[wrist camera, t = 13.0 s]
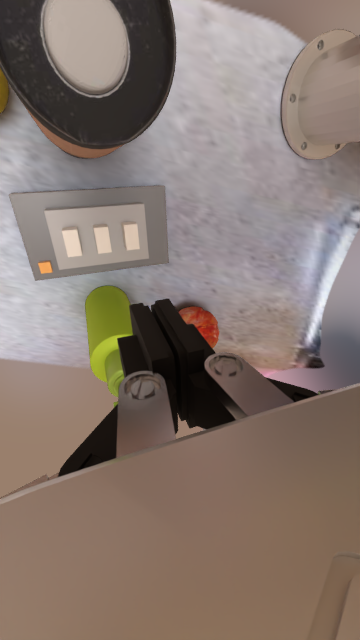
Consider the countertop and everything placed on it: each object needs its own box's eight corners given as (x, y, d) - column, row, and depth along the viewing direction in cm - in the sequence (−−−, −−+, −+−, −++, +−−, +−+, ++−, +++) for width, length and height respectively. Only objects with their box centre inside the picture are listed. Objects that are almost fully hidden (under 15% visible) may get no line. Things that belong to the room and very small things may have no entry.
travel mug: (65, 43, 25) (51, -219, 8) (132, 117, 29) (213, 44, 12) (20, 117, 26) (-74, 20, 9) (90, 177, 30) (111, 186, 13)
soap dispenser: (139, 316, 40) (186, 419, 23) (91, 329, 38) (106, 449, 22) (131, 279, 37) (179, 367, 20) (79, 291, 35) (85, 397, 19)
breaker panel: (160, 185, 33) (175, 187, 28) (164, 258, 37) (178, 271, 32) (12, 193, 28) (0, 197, 24) (37, 275, 33) (31, 293, 28)
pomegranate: (207, 305, 46) (194, 288, 36) (232, 341, 44) (225, 332, 34) (171, 330, 47) (149, 319, 37) (194, 366, 44) (176, 364, 35)
